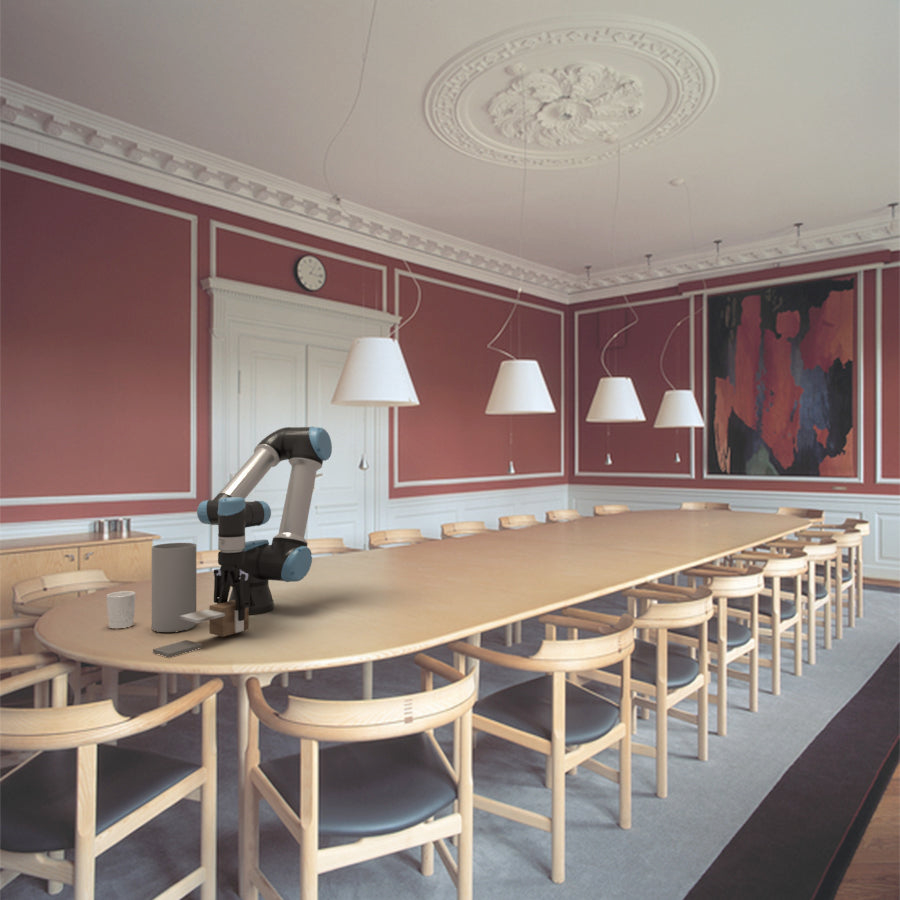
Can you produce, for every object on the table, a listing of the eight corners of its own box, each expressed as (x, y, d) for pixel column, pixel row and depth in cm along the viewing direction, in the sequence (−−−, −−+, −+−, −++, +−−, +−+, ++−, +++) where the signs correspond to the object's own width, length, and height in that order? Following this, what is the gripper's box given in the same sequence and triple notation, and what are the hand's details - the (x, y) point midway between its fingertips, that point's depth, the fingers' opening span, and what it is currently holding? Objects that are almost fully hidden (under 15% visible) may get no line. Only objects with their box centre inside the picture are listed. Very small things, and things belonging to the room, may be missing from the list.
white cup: (141, 623, 203) (141, 591, 203) (123, 630, 195) (123, 597, 195) (119, 622, 205) (119, 590, 205) (100, 629, 197) (100, 596, 197)
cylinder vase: (165, 621, 205) (165, 542, 205) (203, 623, 204) (203, 543, 204) (143, 633, 193) (143, 548, 193) (183, 634, 192) (183, 549, 192)
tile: (186, 645, 182) (153, 655, 174) (186, 639, 182) (152, 649, 174) (202, 650, 178) (168, 659, 170) (202, 644, 178) (168, 653, 170)
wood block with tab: (233, 625, 196) (233, 599, 196) (250, 629, 192) (250, 602, 191) (179, 640, 181) (179, 611, 181) (197, 645, 177) (197, 615, 176)
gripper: (200, 549, 193) (200, 627, 193) (242, 555, 182) (242, 638, 182) (221, 546, 199) (221, 622, 199) (263, 551, 189) (263, 631, 189)
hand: (231, 629), depth 191 cm, fingers closed on wood block with tab, 6 cm apart
